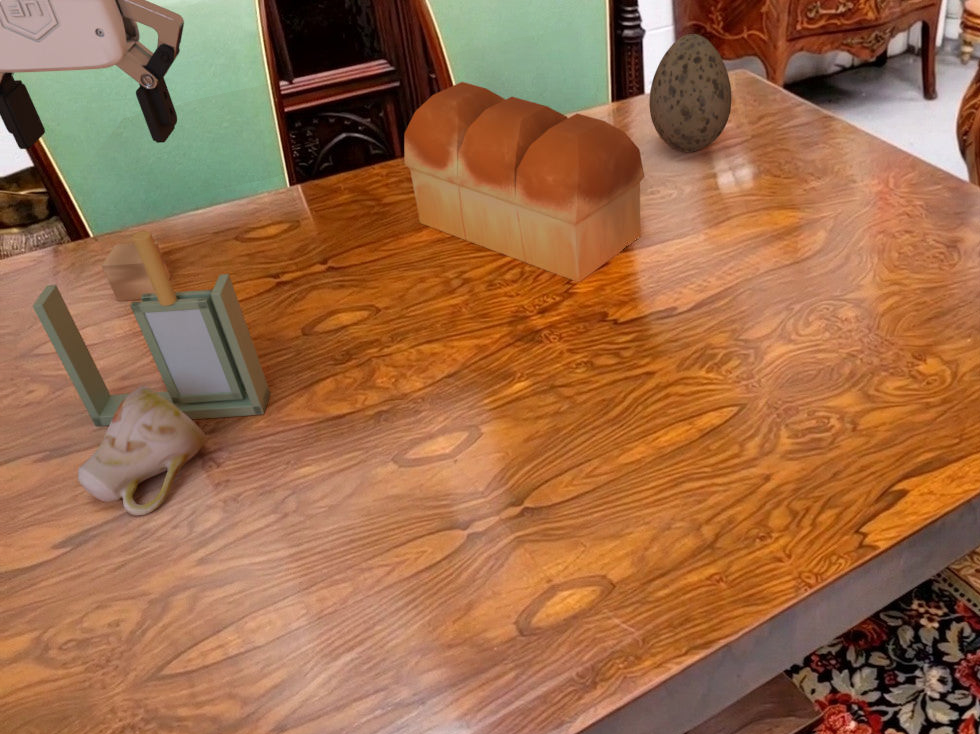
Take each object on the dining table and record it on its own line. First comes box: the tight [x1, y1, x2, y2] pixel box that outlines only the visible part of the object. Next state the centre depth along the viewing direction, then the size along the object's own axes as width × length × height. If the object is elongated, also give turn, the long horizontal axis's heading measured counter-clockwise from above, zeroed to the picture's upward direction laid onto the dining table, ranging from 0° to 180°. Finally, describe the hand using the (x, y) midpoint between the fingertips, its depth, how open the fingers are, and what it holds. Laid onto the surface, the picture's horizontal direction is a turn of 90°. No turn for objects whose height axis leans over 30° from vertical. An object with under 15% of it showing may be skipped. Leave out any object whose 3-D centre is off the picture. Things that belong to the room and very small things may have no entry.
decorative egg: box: [648, 33, 733, 153], centre depth 122 cm, size 11×11×15 cm
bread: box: [403, 81, 645, 283], centre depth 106 cm, size 25×12×15 cm, turn 55°
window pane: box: [130, 230, 244, 404], centre depth 80 cm, size 6×1×17 cm, turn 96°
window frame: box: [32, 273, 271, 427], centre depth 82 cm, size 15×3×13 cm, turn 96°
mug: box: [77, 385, 208, 516], centre depth 78 cm, size 8×10×10 cm
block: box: [101, 241, 171, 302], centre depth 101 cm, size 4×4×4 cm
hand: (99, 138), depth 70 cm, fingers open, 9 cm apart
